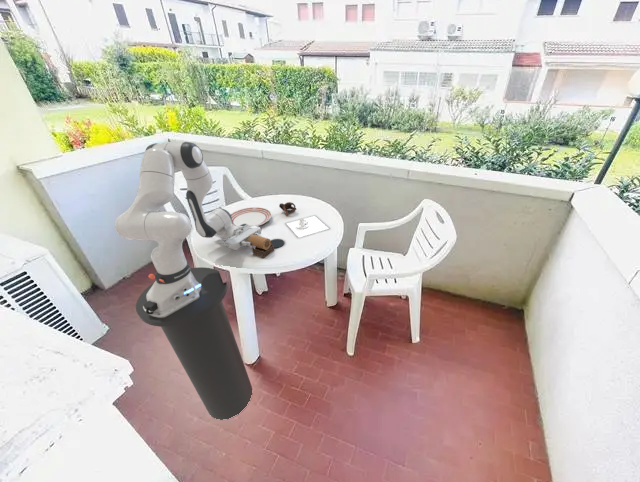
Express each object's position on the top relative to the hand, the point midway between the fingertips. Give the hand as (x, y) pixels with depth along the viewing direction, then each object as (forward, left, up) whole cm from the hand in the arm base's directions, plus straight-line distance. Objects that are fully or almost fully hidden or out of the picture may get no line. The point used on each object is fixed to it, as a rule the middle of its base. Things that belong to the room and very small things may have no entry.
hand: (255, 240), depth 148 cm
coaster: (+9, -5, -6) cm, 12 cm away
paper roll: (0, -3, 0) cm, 3 cm away
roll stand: (0, -4, -6) cm, 7 cm away
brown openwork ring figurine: (+44, +13, -6) cm, 47 cm away
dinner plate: (+23, +27, -6) cm, 37 cm away
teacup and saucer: (+34, -9, -6) cm, 36 cm away
